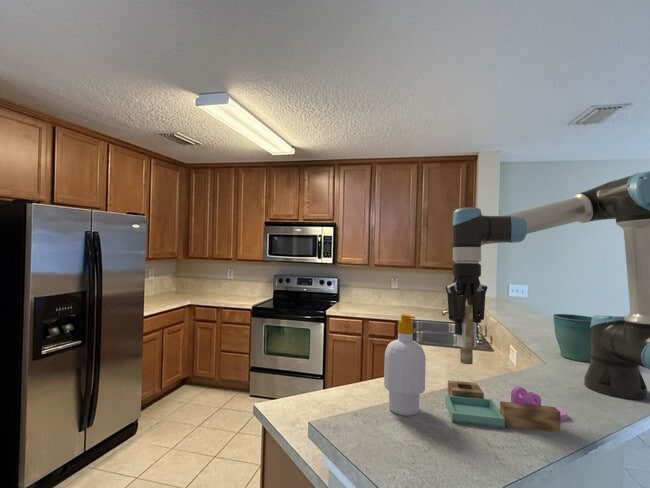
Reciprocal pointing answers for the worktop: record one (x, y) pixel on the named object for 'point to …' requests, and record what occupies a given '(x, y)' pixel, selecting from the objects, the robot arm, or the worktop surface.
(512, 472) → the worktop surface
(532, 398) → the bracket
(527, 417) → the block
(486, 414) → the tray
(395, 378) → the soap bottle
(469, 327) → the dowel
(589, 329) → the flower pot
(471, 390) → the socket block
